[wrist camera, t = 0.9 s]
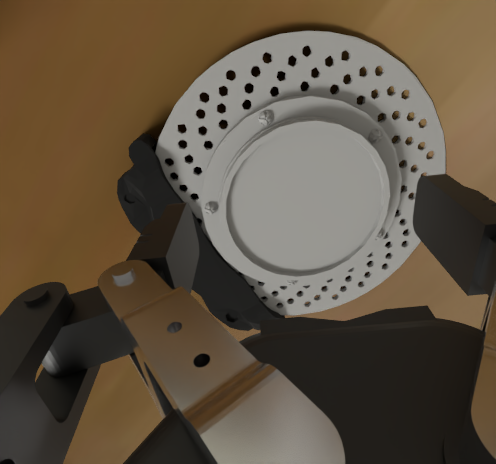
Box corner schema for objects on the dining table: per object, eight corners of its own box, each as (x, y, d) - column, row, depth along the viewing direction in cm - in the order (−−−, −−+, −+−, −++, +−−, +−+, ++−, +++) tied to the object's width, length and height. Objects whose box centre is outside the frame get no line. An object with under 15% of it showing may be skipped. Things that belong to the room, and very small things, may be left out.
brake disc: (217, 331, 47) (213, 359, 42) (82, 126, 33) (58, 139, 29) (460, 253, 40) (484, 278, 36) (413, -39, 27) (443, -54, 23)
